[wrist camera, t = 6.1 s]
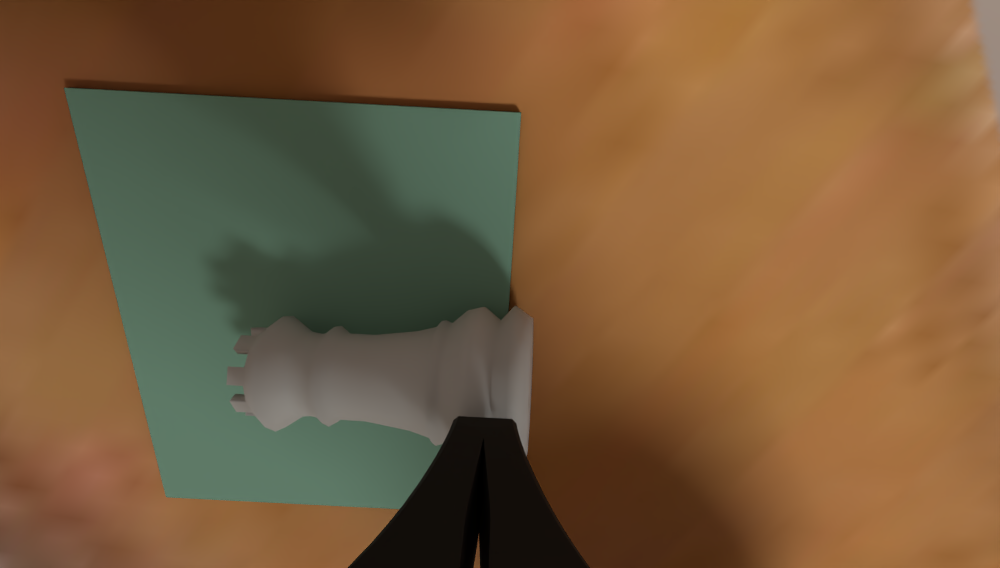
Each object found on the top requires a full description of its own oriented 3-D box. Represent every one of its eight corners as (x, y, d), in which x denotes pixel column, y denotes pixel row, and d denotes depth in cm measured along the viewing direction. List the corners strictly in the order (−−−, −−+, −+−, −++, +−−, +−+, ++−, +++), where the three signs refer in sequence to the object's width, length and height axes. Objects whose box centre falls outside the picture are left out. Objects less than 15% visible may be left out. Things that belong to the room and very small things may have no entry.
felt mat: (495, 509, 20) (495, 513, 19) (169, 492, 20) (166, 497, 19) (520, 112, 14) (520, 112, 14) (69, 87, 14) (63, 87, 14)
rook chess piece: (522, 507, 13) (207, 482, 14) (530, 429, 17) (292, 414, 18) (529, 325, 12) (197, 309, 13) (535, 293, 17) (288, 282, 17)
